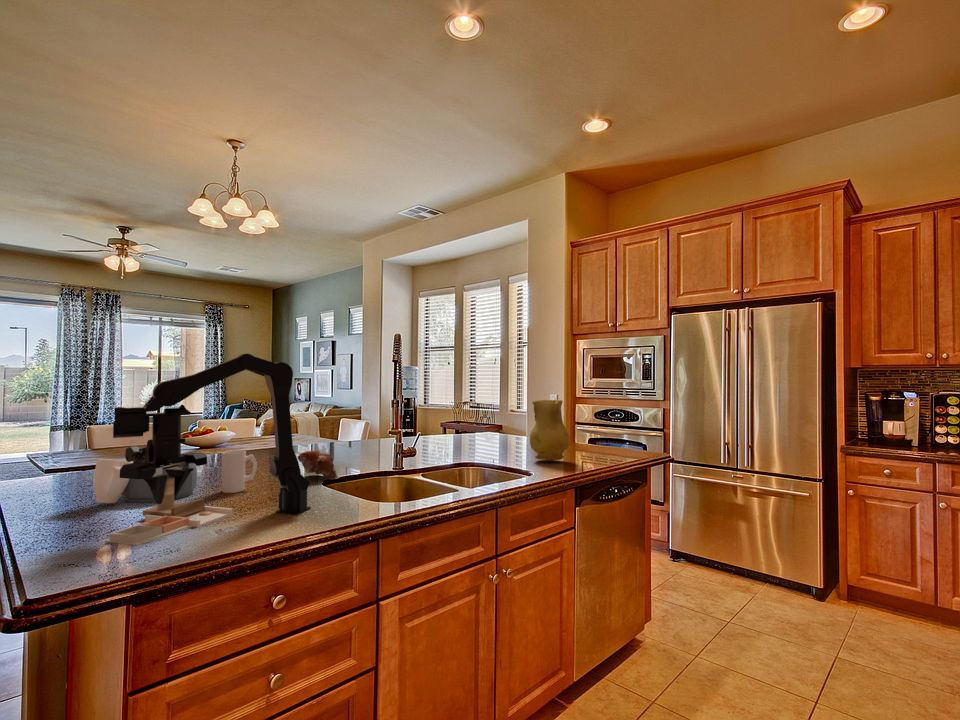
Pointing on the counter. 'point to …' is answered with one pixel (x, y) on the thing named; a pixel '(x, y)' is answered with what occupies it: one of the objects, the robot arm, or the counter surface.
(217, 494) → the counter surface
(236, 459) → the mug
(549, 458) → the pitcher
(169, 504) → the peg
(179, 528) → the board
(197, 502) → the lid
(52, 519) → the counter surface
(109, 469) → the mug
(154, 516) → the housing base
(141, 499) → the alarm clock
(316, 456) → the reddish brown lump
